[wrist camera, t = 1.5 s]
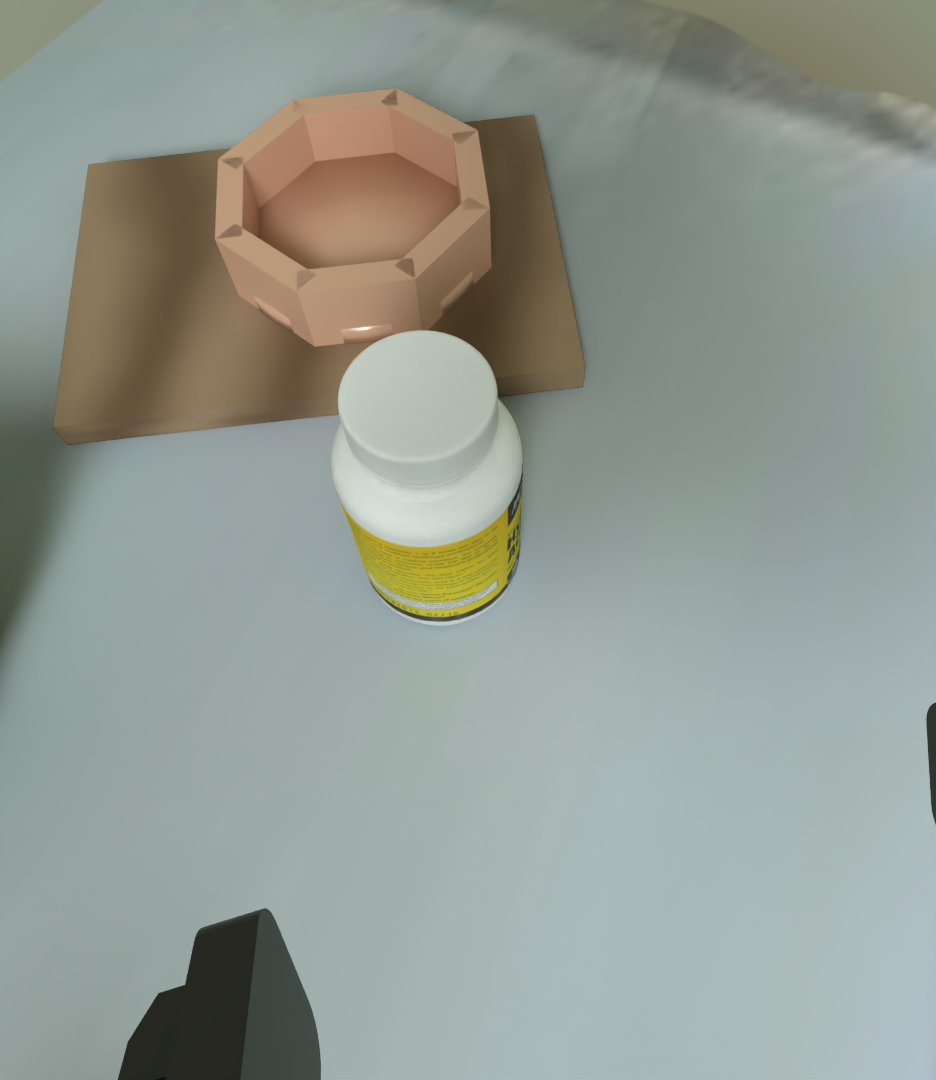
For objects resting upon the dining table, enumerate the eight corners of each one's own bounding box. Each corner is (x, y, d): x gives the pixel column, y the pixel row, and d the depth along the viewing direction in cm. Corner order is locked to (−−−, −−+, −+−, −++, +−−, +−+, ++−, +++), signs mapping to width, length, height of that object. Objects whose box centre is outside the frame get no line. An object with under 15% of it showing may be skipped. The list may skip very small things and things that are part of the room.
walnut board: (67, 444, 32) (52, 427, 31) (100, 186, 38) (88, 164, 37) (582, 386, 32) (585, 367, 31) (533, 138, 38) (533, 114, 37)
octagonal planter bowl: (234, 357, 32) (209, 304, 29) (239, 168, 36) (217, 106, 34) (503, 327, 32) (502, 271, 29) (474, 141, 36) (471, 78, 34)
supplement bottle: (538, 608, 28) (551, 460, 19) (382, 646, 28) (323, 512, 19) (499, 474, 30) (494, 288, 22) (355, 507, 30) (290, 331, 21)
